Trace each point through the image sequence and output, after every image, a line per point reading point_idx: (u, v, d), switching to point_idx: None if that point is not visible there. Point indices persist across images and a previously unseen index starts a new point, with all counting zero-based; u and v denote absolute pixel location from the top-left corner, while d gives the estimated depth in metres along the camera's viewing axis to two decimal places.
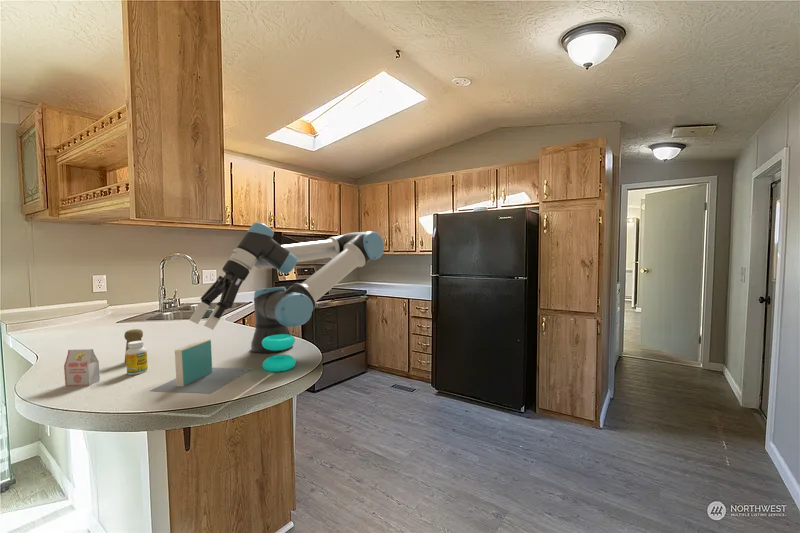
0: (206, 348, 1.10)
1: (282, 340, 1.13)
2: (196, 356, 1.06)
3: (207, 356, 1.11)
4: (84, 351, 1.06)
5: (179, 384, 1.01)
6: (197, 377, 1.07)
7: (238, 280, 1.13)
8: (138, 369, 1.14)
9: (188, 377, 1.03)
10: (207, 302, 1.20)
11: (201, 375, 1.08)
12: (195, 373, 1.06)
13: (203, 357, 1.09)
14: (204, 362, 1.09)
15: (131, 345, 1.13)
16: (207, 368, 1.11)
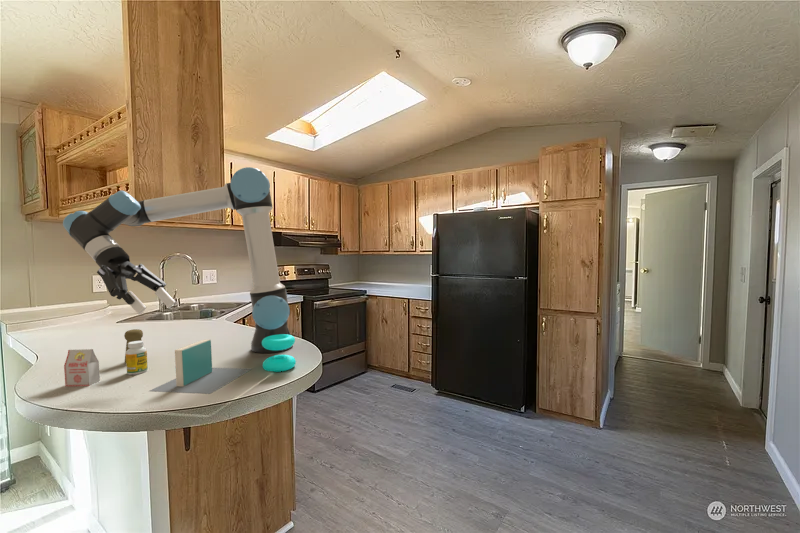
0: (206, 348, 1.10)
1: (282, 340, 1.13)
2: (196, 356, 1.06)
3: (207, 356, 1.11)
4: (84, 351, 1.06)
5: (179, 384, 1.01)
6: (197, 377, 1.07)
7: (99, 270, 1.03)
8: (138, 369, 1.14)
9: (188, 377, 1.03)
10: (158, 287, 1.14)
11: (201, 375, 1.08)
12: (195, 373, 1.06)
13: (203, 357, 1.09)
14: (204, 362, 1.09)
15: (131, 345, 1.13)
16: (207, 368, 1.11)
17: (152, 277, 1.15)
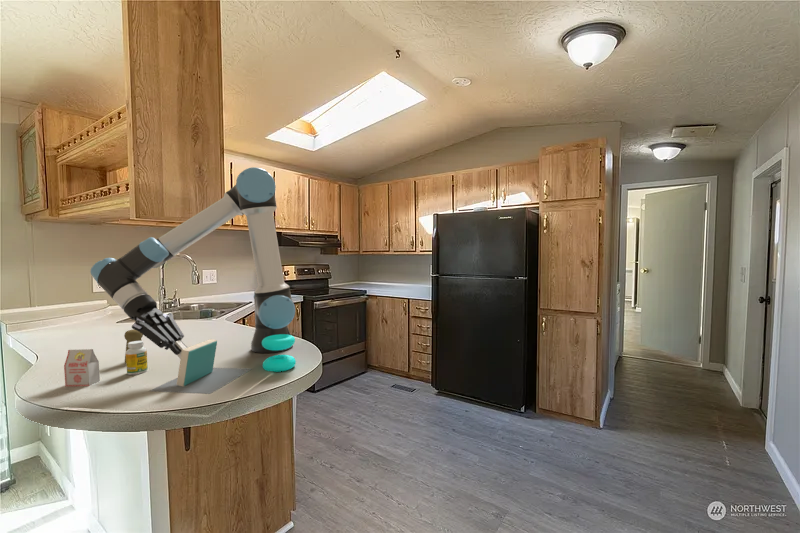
0: (211, 349, 1.10)
1: (282, 340, 1.13)
2: (201, 357, 1.06)
3: (211, 357, 1.11)
4: (84, 351, 1.06)
5: (179, 383, 1.01)
6: (197, 377, 1.07)
7: (135, 326, 1.02)
8: (138, 369, 1.14)
9: (189, 377, 1.03)
10: (175, 339, 1.08)
11: (201, 375, 1.08)
12: (196, 373, 1.06)
13: (207, 358, 1.09)
14: (206, 362, 1.09)
15: (131, 345, 1.13)
16: (208, 368, 1.11)
17: (173, 327, 1.11)
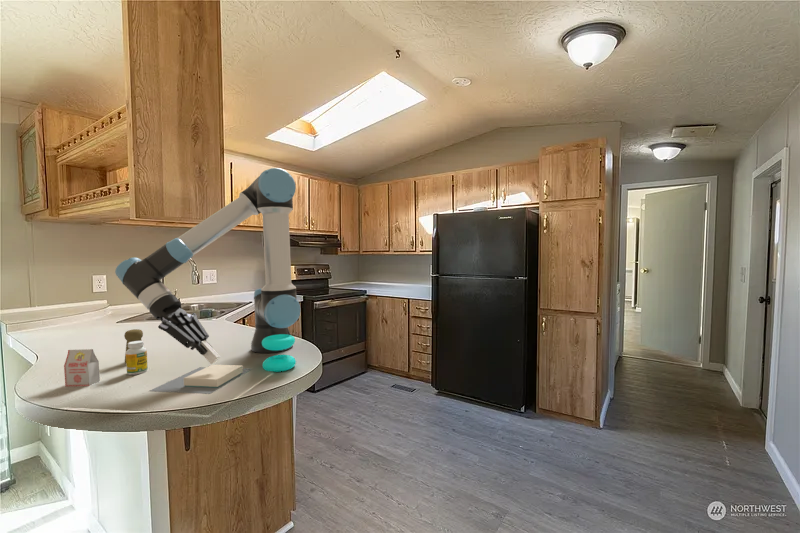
0: None
1: (282, 340, 1.13)
2: None
3: None
4: (84, 351, 1.06)
5: (185, 381, 1.01)
6: None
7: (162, 326, 1.01)
8: (138, 369, 1.14)
9: None
10: (200, 339, 1.08)
11: None
12: None
13: None
14: None
15: (131, 345, 1.13)
16: None
17: (198, 327, 1.10)
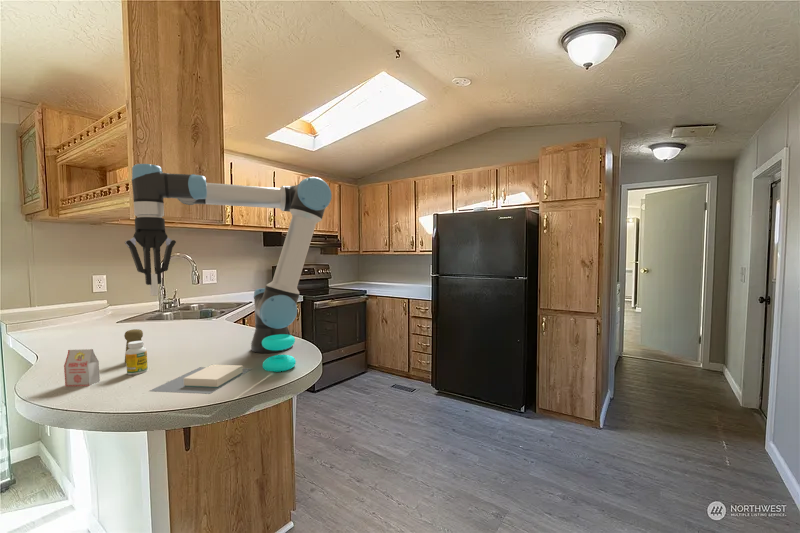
0: None
1: (282, 340, 1.13)
2: None
3: None
4: (84, 351, 1.06)
5: (185, 381, 1.01)
6: None
7: (126, 243, 1.08)
8: (138, 369, 1.14)
9: None
10: (156, 270, 1.13)
11: None
12: None
13: None
14: None
15: (131, 345, 1.13)
16: None
17: (165, 257, 1.14)
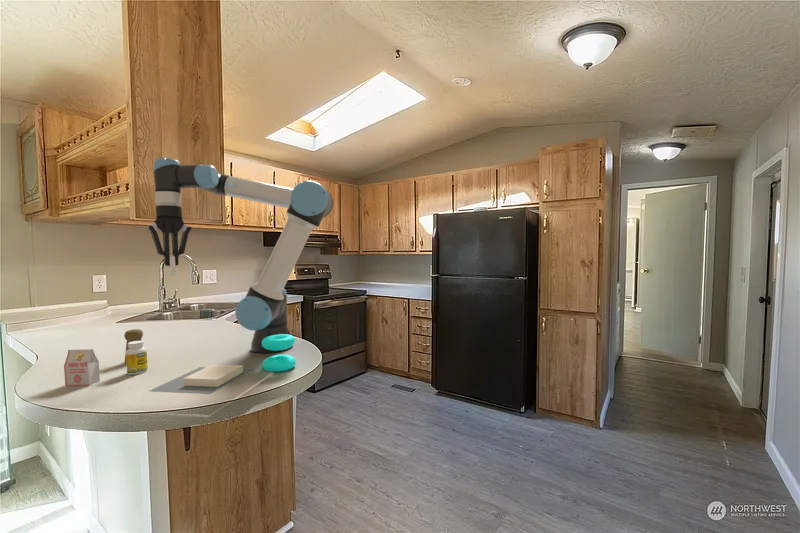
0: None
1: (282, 340, 1.13)
2: None
3: None
4: (84, 351, 1.06)
5: (185, 381, 1.01)
6: None
7: (148, 228, 1.22)
8: (138, 369, 1.14)
9: None
10: (174, 253, 1.27)
11: None
12: None
13: None
14: None
15: (131, 345, 1.13)
16: None
17: (182, 241, 1.28)
